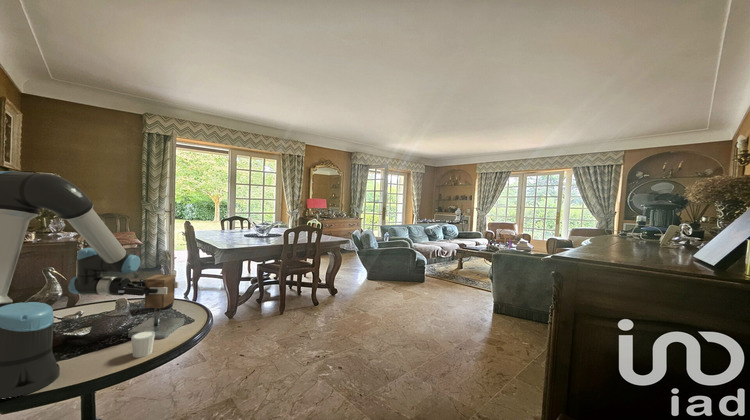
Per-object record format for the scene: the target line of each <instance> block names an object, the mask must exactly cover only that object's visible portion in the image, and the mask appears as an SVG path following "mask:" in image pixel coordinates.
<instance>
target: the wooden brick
mask: <svg viewBox="0 0 750 420" xmlns="http://www.w3.org/2000/svg"><path fill="white" fill-rule="evenodd" d="M145 280H146V281H145V287H147V288H149V289H150V287H167V294H149V296H145V295H144V308H145V309H146V308H148V309H150V308H152V309H157V308H164V307H166V306H168V305H169V304H171V303H173V302H175V292H174V282H176V275H175V274H154V275H152V276H150V277H147V278H146V279H145ZM173 304H174V303H173Z"/></svg>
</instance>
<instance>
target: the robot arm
mask: <svg viewBox="0 0 750 420" xmlns="http://www.w3.org/2000/svg"><path fill="white" fill-rule="evenodd" d="M93 208H94V203H93V201H92V200H91V199H90V198H89V197H88V195H87V194H86V193H84V192H83V190H82V189H80V188H79V187H78V186H77V185H76V184H74V183H73V182H71V181H69V180H68V179H65V178H63V176H60V175H55V174H51V173H46V172H45V173H40V172H26V171H16V170H7V171H5V170H4V171H2V170H1V171H0V399H2V398H9V397H15V398H18V397H17V396H19V397H22V396H25V395H27V394H28V395H29V394H31V393H34V392H36V391H38V390H42V389H44V388H45V387H47V386H48V385H51V384H52V383H54V382H55V381H56V380H57V379H58V378H59V377H60V371H61V370H60V369H61V368H60V364H58V363H57V359H56V358H55V355H54V353H53V341H54V339H53V338H54V322H55V316H54V309H53V307H52V306H51V305H49V304H47V303H45V302H38V301H28V302H27V301H26V302H16V303H13V302H14V301H13V299H12V298H11V297H9V296H8V293H9V289H10V286H11V284H12V279H13V276H14V273H15V271H16V267H17V263H18V260H19V257H20V253H21V251H22V247H23V244H24V241H25V237H26V234H27V231H28V228H29V224H30V222H31V221H32V220H34V219H35V218H37V217H39V215H40V211H41V210H46V211H50V212H52V213H53V214H55V215H56V216H57V217H58V218H59V219H61V220H66V221H67V222H68V224H70V226H71V227H72V228H73V229H74V230H75V231H76V232H77V233H78V235H80V237H81V238H82V239H84V241H85V242H86V243H87V244H88V245H89V246H90V247H84V248H81V249H79V250H78V251H77V255H76V257H77V258H76V266H77V267H76V269H77V271H76V276H74V277H72V278H71V279H70V280H69V284H68V291H69V292H70V293H71V294H73V295H82V296H90V295H91V296H93V295H94V296H97V295H98V296H106V297H109V296H119V297H120V296H125V295H128V296H139V297H141V296H144V297H145V296H149V294H167V287H150V289H149V288H147V287H145V281H146V279H139V280H131V279H130V278H129V277H127V276H123V277H122V276H103V273H118V274H119V273H120V274H131V273H135V272H137V271H138V269H139V268H140V266H141V259H140V256H138V255H135V254H129V253H128V251H126V249H125V247H123V246H122V244H121V243H120V242H119V240H118V239H117V238H116V236H115V235H114V234H113V233H112V231H111V230H110V229H109V227H108V226H107V225H106V223H105V222H104V221H103V220H102V219H101V218H100V216H99V215H98V213H97V212H96V211H95V210H94V209H93ZM174 288H175V289H178V288H179V281H175V282H174ZM21 395H22V396H21Z"/></svg>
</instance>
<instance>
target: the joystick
mask: <svg viewBox="0 0 750 420" xmlns="http://www.w3.org/2000/svg"><path fill="white" fill-rule="evenodd" d="M161 312H162V311H161V308H154V315H153V317H150V318H148V319H147V320H145V321H144V322H142V323H140V324H138V325H137V326H135V327H134V328H132V329H130V330H129V331H128V335H127V336H128V338H132V336H133V335H134V334H137V333H140V332H144V331H153V332H155V337H154V339H167V338H168V337H169V336H170V335H171V334H173V333H174V332H175V331H176V330H178V329H180V328H181V327H182V326H183V325H184V324H185V318H183V317H161Z"/></svg>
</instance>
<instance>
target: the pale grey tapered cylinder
mask: <svg viewBox="0 0 750 420" xmlns="http://www.w3.org/2000/svg"><path fill="white" fill-rule="evenodd" d="M154 337H155V332H153V331H144V332H140V333H137V334H134V335H133V336H132V338H131V348H132V351H131V352H132V357H134V358H136V359H137V358H144V357H147V356H149V355H151V354H152V353H153V349H154V341H155V338H154Z"/></svg>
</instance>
